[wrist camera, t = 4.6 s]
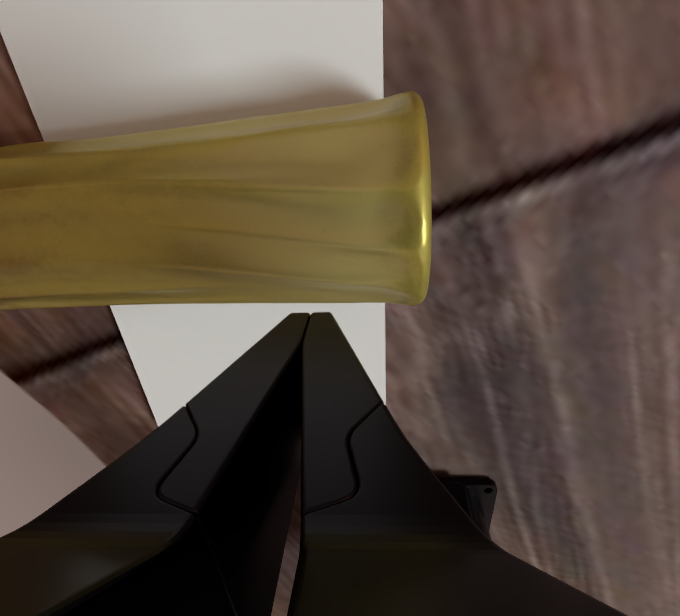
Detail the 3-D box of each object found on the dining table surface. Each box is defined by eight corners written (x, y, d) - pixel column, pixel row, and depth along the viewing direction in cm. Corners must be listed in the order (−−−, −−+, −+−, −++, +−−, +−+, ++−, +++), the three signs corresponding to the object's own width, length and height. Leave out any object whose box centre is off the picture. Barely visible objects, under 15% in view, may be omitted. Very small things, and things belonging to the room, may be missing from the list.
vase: (420, 319, 16) (49, 333, 17) (410, 161, 17) (65, 187, 18) (439, 273, 10) (-132, 302, 11) (423, 35, 11) (-92, 88, 12)
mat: (385, 417, 23) (385, 426, 22) (163, 420, 24) (159, 428, 23) (378, -315, 10) (380, -333, 10) (-98, -255, 11) (-121, -269, 11)
